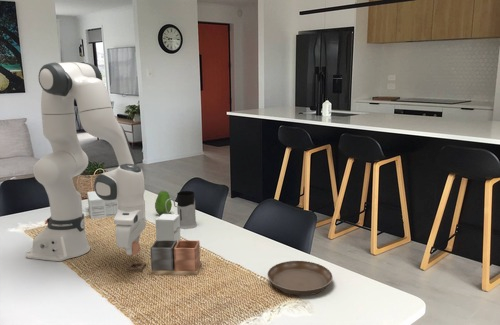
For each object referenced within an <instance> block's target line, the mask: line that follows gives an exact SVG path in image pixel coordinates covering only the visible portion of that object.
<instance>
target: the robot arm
mask: <svg viewBox="0 0 500 325" xmlns="http://www.w3.org/2000/svg"><path fill="white" fill-rule="evenodd" d="M38 82H39V85H40V87H41V90H42V91H41V97H40V98H41V99H40V108H41V110H40V111H41V122H42V123H41V125H42V134H43V137H44V138H45V139H46V140H47V141H48V142H49V143H50V146H51V149H52V153H49V154H45V155H43V157H41V158H40V159H38V160H37V161H36V162H35V163H34V165H33V168H32V170H33V171H32V172H33V176H34V179H35V180H36V181H37V183H39V184H41V185H42V186H43V187H44V189H45V192H46V194H47V197H48V202H49V209H50V216H49V217H48V218H47V219H46V220H44V225H47V226H46V227H45V228H44V229H43V230H42V231H41V232H39V233H38V234H37V235H36V236H35V237H34V239H33V240H32V246H31V248H30V249H29V250H27V251H26V253H25V254H26V256H25V258H26V259H31V260H32V259H34V260H42V261H44V260H46V261H51V262H52V261H53V262H62V261H65V260H68V259H71V258H77V257H81V256H83V255H85V254H87V253H88V252H89V251H90V250H91V246H90V244H89V241H88V238H87V234H86V230H85V229H86V221H85V220H86V219H85V214H84V213H83V202H82V195H81V193H80V191H78V190H77V189H76V187H75V184H74V181H73V178H75V177H77V176H79V175H81V174H82V173H83V172H84V171H85V170H86V169H87V167H88V166H89V156H88V155H87V153H86V152H85V151H84V150H83V149H82V146H81V144H80V141H79V138H78V133H77V132H78V131H77V124H76V114H75V112H76V111H75V102H76V105H77V112H78V117H79V120H80V125H81V126H82V128H83V130H84V131H85V132H86V133H88V134H89V135H91V136H92V137H95V138H98V139H101V140H104V141H106V142H108V143H109V145H111V147H112V149H113V151H114V154H115V157H116V160H117V162H118V167H116V168H114V169H113V170H110V171H106V172H103V173H100V174H99V175H97V176H96V177H95V179H94V183H93V188H94V191H95V192H96V194H97V196H98V197H99V198H101V199H103V200H117V201H118V210H117V214H116V216H114V218H113V224H114V225H115V229H114V230H115V241H116V242H115V244H116V246H117V248H119V249H125V248H126V250H125V252H126V255H128V256H132V255H131V254H132V253H133V248H132V243H133V242H134V241H136V242H138V243H139V244H140V238H141V233H143V231H144V230H145V229H146V226H147V223H146V222H147V220H146V201H145V197H144V195H145V190H146V189H145V178H144V177H145V176H144V171H143V169H142V168H141V166H139V165H138V164H137V162H136V159H135V157H134V154H133V150H132V147H131V145H130V140H129V137H128V135H127V134H126V131H125V129H124V127H123V126H122V124H120V123H119V121H118V120H117V118H116V116H115V112H114V109H113V105H112V101H111V98H110V95H109V92H108V88H107V86H106V85H105V82H104V81H103V76H102V72H101V70H100V68H99V67H97V66H96V65H95V64H92V63H89V62H77V61H68V62H51V63H46V64H44V65H43V66H41V68H40V69H39V72H38Z"/></svg>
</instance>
